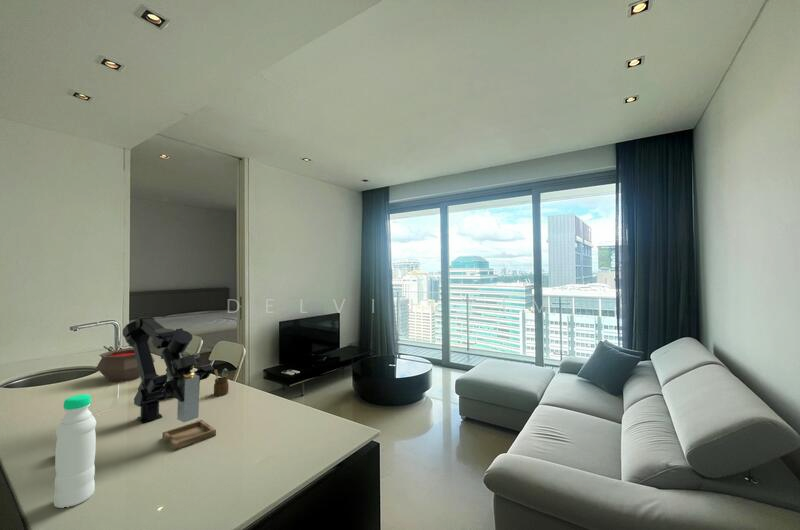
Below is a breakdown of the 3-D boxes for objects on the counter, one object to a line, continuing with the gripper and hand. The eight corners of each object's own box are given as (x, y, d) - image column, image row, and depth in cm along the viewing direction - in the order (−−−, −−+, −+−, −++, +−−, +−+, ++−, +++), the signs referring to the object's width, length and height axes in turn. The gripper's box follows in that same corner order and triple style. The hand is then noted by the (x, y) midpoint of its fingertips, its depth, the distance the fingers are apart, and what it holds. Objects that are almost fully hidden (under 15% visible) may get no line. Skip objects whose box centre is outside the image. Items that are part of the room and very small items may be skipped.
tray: (162, 438, 108) (162, 432, 108) (201, 425, 118) (201, 419, 118) (175, 450, 101) (175, 444, 101) (215, 435, 110) (216, 429, 110)
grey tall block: (177, 419, 108) (178, 374, 109) (191, 414, 112) (192, 370, 112) (184, 422, 106) (185, 376, 106) (198, 417, 110) (199, 373, 110)
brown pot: (82, 383, 162) (83, 351, 162) (129, 369, 185) (130, 341, 186) (122, 386, 158) (123, 353, 158) (165, 372, 181) (166, 342, 182)
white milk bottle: (72, 490, 82) (75, 391, 83) (102, 489, 83) (104, 391, 84) (44, 510, 75) (47, 402, 76) (77, 508, 76) (80, 401, 77)
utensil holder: (231, 392, 151) (231, 366, 151) (219, 397, 145) (220, 370, 145) (221, 390, 153) (222, 365, 153) (210, 395, 147) (210, 369, 147)
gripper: (152, 352, 104) (167, 394, 98) (211, 342, 120) (227, 377, 114) (140, 373, 108) (155, 414, 102) (199, 360, 123) (214, 395, 117)
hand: (190, 398), depth 108 cm, fingers closed on grey tall block, 4 cm apart
